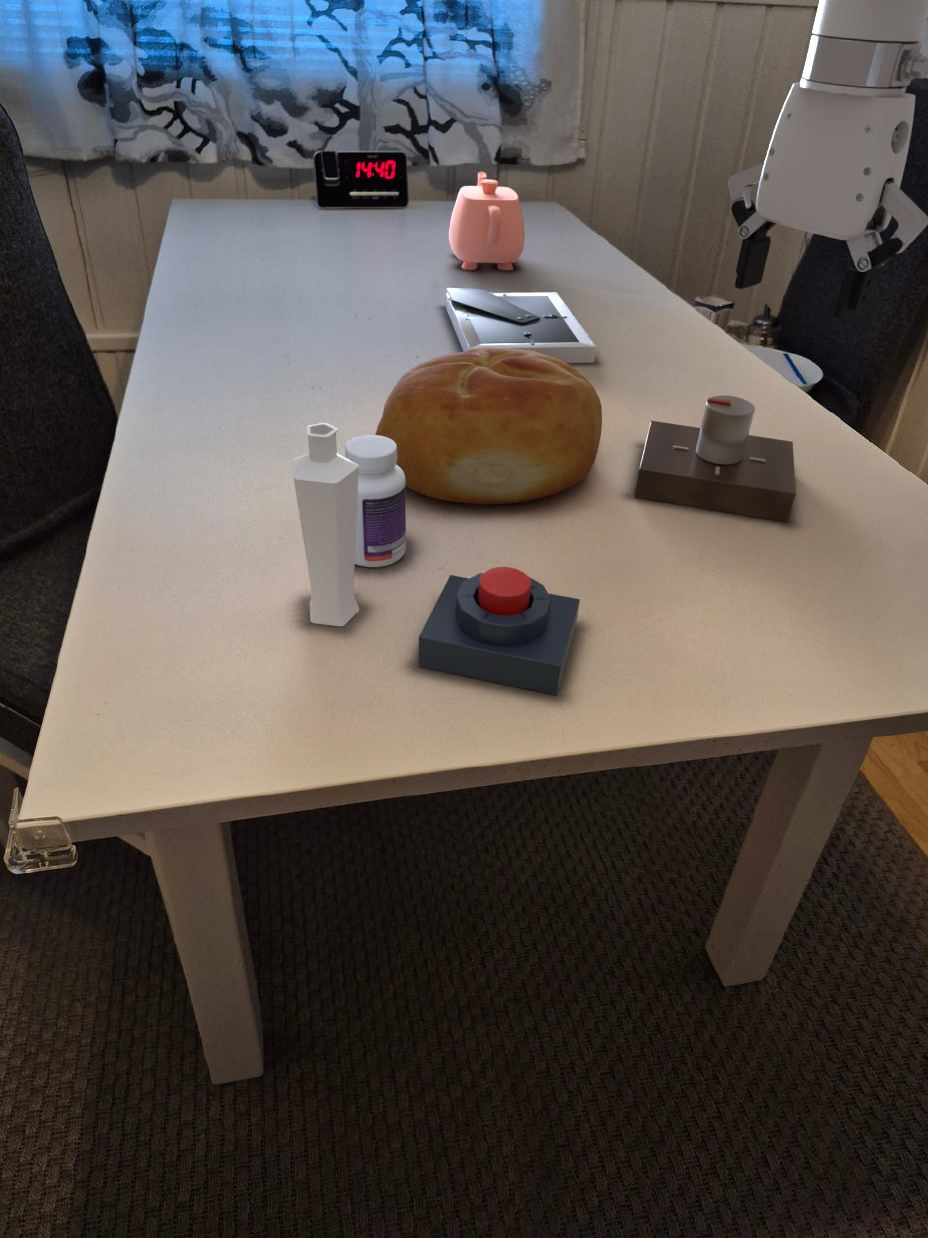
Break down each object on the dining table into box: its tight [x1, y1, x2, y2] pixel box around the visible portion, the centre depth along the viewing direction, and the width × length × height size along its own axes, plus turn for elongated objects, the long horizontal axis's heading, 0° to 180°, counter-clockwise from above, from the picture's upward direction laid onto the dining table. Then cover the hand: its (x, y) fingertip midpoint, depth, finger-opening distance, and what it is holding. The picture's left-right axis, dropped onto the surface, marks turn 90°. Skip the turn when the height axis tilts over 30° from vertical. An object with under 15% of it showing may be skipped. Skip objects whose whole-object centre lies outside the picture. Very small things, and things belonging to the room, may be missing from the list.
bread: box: [374, 347, 603, 505], centre depth 84 cm, size 23×23×10 cm
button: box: [478, 566, 531, 616], centre depth 61 cm, size 4×4×2 cm
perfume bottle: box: [292, 422, 360, 627], centre depth 62 cm, size 5×4×15 cm
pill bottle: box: [344, 434, 407, 568], centre depth 71 cm, size 5×5×10 cm
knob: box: [696, 395, 756, 465], centre depth 82 cm, size 4×4×5 cm
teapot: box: [448, 170, 526, 271], centre depth 139 cm, size 20×12×12 cm, turn 6°
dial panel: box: [633, 420, 797, 523], centre depth 85 cm, size 14×11×3 cm
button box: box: [418, 572, 581, 696], centre depth 63 cm, size 10×8×4 cm
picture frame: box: [445, 287, 597, 364], centre depth 115 cm, size 16×3×21 cm
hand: (794, 300), depth 76 cm, fingers open, 9 cm apart
